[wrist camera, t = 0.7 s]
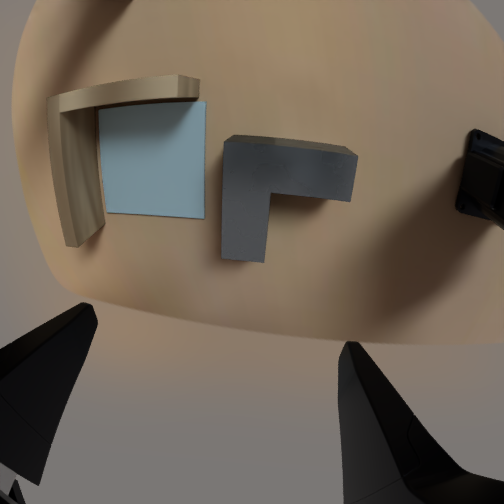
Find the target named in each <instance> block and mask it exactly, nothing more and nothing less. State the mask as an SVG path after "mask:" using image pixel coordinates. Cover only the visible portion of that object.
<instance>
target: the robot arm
mask: <svg viewBox="0 0 504 504" xmlns="http://www.w3.org/2000/svg"><path fill="white" fill-rule="evenodd" d="M476 134H478V137H477V138H476ZM461 204H463V205H462V207H461V208H460V206H461ZM455 208H456V210H457V211H458V212H460V213H463V214H467V215H471V216H476V217H480V218H484V219H487V220H491V221H493V222H494V223H496V224H497V225H498V226H499V227H500V228H502V229H503V230H504V141H502V140H500V139H498V138H496V137H494V136H491V135H489V134H487V133H485V132H483V131H481V130H478V129H473V130H472V131H471V135H470V141H469V147H468V152H467V157H466V162H465V167H464V171H463V176H462V180H461V184H460V189H459V192H458V196H457V200H456V204H455ZM97 325H98V320H97V317H96V314H95V311H94V309H93V306H92V305H91V304H88V303H84V302H83V303H80V304H78V305H76V306H74V307H72V308H71V309H69V310H67V311H65V312H63V313H62V314H60V315H58V316H56V317H54V318H53V319H51V320H49V321H47V322H46V323H44V324H42V325H40V326H39V327H37V328H35V329H34V330H32V331H30V332H28V333H27V334H25V335H23V336H21V337H20V338H18V339H16V340H15V341H13V342H12V343H9V344H8V345H6V346H5V347H3V348H1V349H0V504H26V503H25V501H24V498H23V495H22V493H21V490H20V487H19V484H18V481H17V480H16V479H15V477H16V475H17V474H18V475H20V476H22V477H23V478H25V479H27V480H29V481H30V482H32V483H34V484H36V485H37V486H39V484H40V481H41V478H42V474H43V471H44V467H45V464H46V460H47V457H48V454H49V451H50V448H51V444H52V442H53V439H54V436H55V433H56V430H57V427H58V425H59V422H60V419H61V417H62V414H63V411H64V409H65V406H66V404H67V401H68V399H69V396H70V394H71V392H72V389H73V387H74V384H75V382H76V380H77V377H78V375H79V373H80V371H81V368H82V366H83V364H84V362H85V359H86V356H87V354H88V351H89V348H90V345H91V342H92V339H93V337H94V334H95V331H96V328H97ZM338 363H339V364H338V410H339V422H340V435H341V450H342V468H343V495H344V504H504V481H500V480H496V479H492V478H487V477H484V476H480V475H476V474H473V473H470V472H468V471H466V470H464V469H462V468H461V467H460V466H459V465H458V464H457V463H456V462H455V461H454V460H453V459H452V458H451V457H450V456H449V455H448V453H447V452H446V451H445V450H444V449H443V448H442V447H441V446H440V445H439V444H438V443H437V442H436V440H435V439H434V438H433V437H432V436H431V435H430V434H429V433H428V431H427V430H426V429H425V427H424V426H423V425H422V424H421V422H420V421H419V420H418V418H417V417H416V416H415V415H414V413H413V412H412V410H411V409H410V408H409V406H408V405H407V404H406V402H405V401H404V400H403V399H402V397H401V396H400V395H399V393H398V392H397V391H396V389H395V388H394V387H393V386H392V384H391V383H390V382H389V380H388V379H387V378H386V376H385V375H384V374H383V373H382V371H381V370H380V369H379V368H378V366H377V365H376V364H375V362H374V361H373V360H372V358H371V357H370V356H369V355H368V353H367V352H366V351H365V350H364V348H363V347H362V346H361V344H360V343H359V342H355V341H347V342H346V343H345V345H344V347H343V350H342V352H341V354H340V357H339V362H338Z"/></svg>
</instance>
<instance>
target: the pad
mask: <svg viewBox="0 0 504 504" xmlns="http://www.w3.org/2000/svg"><path fill="white" fill-rule="evenodd" d="M205 130H206V102H173V103H156V104H143V105H133V106H124V107H115V108H108V109H101V110H99V139H100V155H101V167H102V177H103V186H104V195H105V202H106V209H107V212H110V213H128V214H144V215H159V216H174V217H187V218H200V219H204V218H205Z"/></svg>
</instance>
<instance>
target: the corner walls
mask: <svg viewBox="0 0 504 504" xmlns="http://www.w3.org/2000/svg"><path fill="white" fill-rule="evenodd" d="M199 83H200V79H196V78H192V77H187V76H183V75H166V76H156V77H146V78H138V79H131V80H124V81H118V82H112V83H107V84H101V85H96V86H91V87H87V88H82V89H78V90H74V91H70V92H66V93H62V94H58V95H55V96H51V97H48V98H47V124H48V140H49V151H50V161H51V169H52V176H53V183H54V190H55V196H56V201H57V207H58V212H59V217H60V221H61V226H62V230H63V235H64V239H65V243H66V246H69V247H76V248H78V247H79V246H80V245H82V244H83V243H84V242H85V241H86V240H87V239H88V238H89V237H90V236H92V235H93V234H94V233H95V232H96V231H97V230H98V229H100V228H101V227H102V226H103V225H104V224H105V220H104V213H103V206H102V199H101V192H100V183H99V174H98V163H97V151H96V135H95V106H101V105H108V104H115V103H123V102H131V101H141V100H152V99H166V98H188V97H199Z"/></svg>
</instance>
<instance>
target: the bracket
mask: <svg viewBox="0 0 504 504" xmlns="http://www.w3.org/2000/svg"><path fill="white" fill-rule="evenodd" d="M357 160H358V156H357V155H356V154H354V153H353V152H352V151H350V150H349V149H348V148H346V147H345V146H339V145H332V144H326V143H318V142H311V141H303V140H294V139H285V138H274V137H262V136H248V135H233V136H231V137H230V138H228V139H227V140H226V141H224V152H223V185H222V240H221V258H222V259H232V260H242V261H252V262H261V263H264V259H265V250H266V242H267V232H268V221H269V210H270V199H271V193H279V194H288V195H298V196H307V197H315V198H323V199H331V200H339V201H346V202H350V201H351V195H352V190H353V184H354V179H355V173H356V167H357Z"/></svg>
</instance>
